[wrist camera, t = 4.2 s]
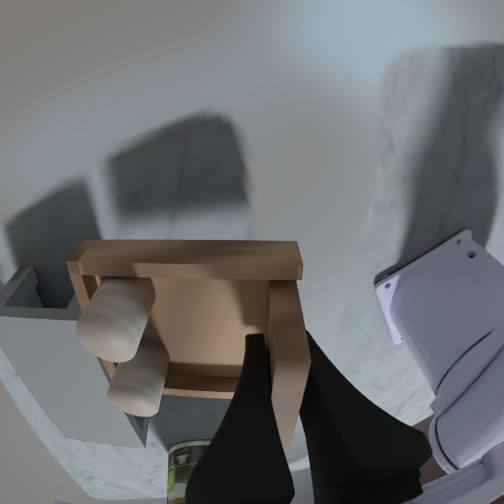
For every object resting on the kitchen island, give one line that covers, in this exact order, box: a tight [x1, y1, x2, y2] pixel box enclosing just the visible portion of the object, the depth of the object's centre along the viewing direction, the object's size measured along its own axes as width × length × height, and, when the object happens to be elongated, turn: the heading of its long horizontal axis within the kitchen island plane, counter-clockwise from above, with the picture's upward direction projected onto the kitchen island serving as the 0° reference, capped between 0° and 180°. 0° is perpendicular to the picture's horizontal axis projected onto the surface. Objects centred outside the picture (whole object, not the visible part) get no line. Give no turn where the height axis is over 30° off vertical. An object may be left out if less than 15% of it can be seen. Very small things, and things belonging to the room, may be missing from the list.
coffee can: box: [167, 440, 212, 504], centre depth 28 cm, size 10×10×14 cm
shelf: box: [0, 267, 149, 448], centre depth 20 cm, size 8×15×6 cm, turn 179°
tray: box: [65, 240, 311, 449], centre depth 12 cm, size 9×8×5 cm
